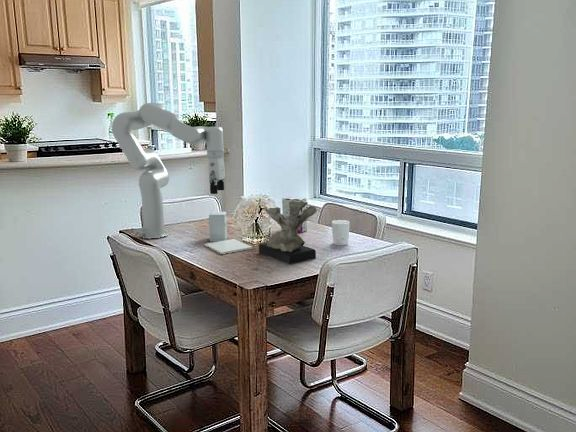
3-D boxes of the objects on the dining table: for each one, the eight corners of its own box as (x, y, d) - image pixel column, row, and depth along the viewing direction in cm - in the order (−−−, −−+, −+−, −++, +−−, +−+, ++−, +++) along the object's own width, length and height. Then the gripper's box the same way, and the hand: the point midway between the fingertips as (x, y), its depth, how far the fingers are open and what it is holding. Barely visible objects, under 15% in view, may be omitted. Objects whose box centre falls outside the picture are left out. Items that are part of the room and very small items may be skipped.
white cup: (348, 246, 251) (348, 224, 249) (330, 245, 252) (330, 223, 250) (350, 241, 258) (350, 220, 256) (332, 241, 260) (333, 219, 258)
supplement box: (225, 241, 261) (224, 214, 259) (209, 241, 262) (208, 214, 259) (227, 237, 269) (226, 211, 266) (211, 237, 269) (210, 211, 266)
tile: (221, 254, 240) (221, 252, 240) (204, 246, 254) (204, 243, 254) (252, 249, 248) (252, 246, 248) (233, 240, 262) (233, 238, 262)
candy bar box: (307, 231, 279) (307, 198, 276) (302, 233, 275) (302, 199, 272) (287, 228, 285) (286, 196, 281) (282, 230, 281) (281, 197, 277)
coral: (254, 251, 245) (253, 202, 241) (292, 243, 257) (292, 196, 252) (287, 265, 225) (287, 211, 221) (328, 256, 237) (328, 205, 232)
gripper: (217, 156, 248) (219, 195, 251) (229, 152, 264) (230, 188, 268) (201, 156, 249) (203, 195, 253) (213, 152, 266) (215, 188, 269)
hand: (217, 191), depth 260 cm, fingers open, 9 cm apart
